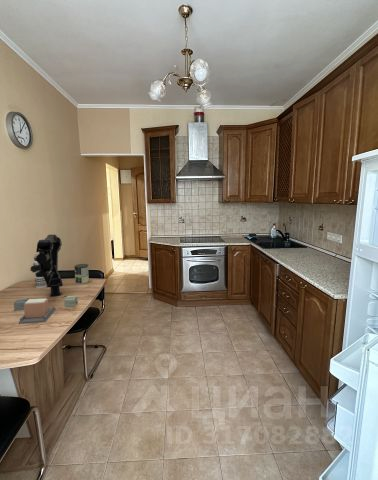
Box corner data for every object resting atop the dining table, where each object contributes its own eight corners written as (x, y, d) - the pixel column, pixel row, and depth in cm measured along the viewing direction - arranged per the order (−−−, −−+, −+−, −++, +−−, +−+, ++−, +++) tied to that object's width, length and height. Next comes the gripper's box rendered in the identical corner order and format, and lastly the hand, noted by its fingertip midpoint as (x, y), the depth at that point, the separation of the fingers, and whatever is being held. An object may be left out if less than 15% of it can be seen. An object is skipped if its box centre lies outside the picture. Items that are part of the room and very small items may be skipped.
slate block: (18, 306, 154) (18, 299, 153) (29, 305, 155) (29, 298, 154) (14, 310, 148) (13, 302, 147) (25, 310, 149) (24, 302, 148)
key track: (31, 311, 147) (31, 307, 147) (55, 309, 150) (55, 305, 149) (18, 323, 132) (18, 319, 131) (45, 321, 134) (45, 317, 134)
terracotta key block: (29, 313, 141) (28, 299, 140) (48, 312, 143) (47, 298, 142) (25, 318, 136) (23, 303, 134) (44, 316, 137) (43, 302, 136)
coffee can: (74, 285, 194) (73, 267, 192) (75, 281, 204) (74, 264, 202) (88, 283, 198) (88, 266, 196) (89, 279, 207) (88, 263, 205)
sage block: (67, 303, 159) (67, 296, 158) (77, 303, 160) (77, 295, 159) (64, 307, 153) (64, 299, 152) (74, 307, 154) (74, 299, 153)
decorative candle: (51, 284, 196) (48, 253, 192) (44, 288, 187) (42, 255, 183) (39, 284, 195) (36, 253, 192) (32, 288, 186) (29, 255, 183)
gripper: (38, 257, 161) (40, 280, 164) (25, 263, 143) (27, 289, 146) (56, 256, 164) (58, 279, 166) (46, 263, 145) (47, 288, 148)
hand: (48, 284), depth 156 cm, fingers closed
